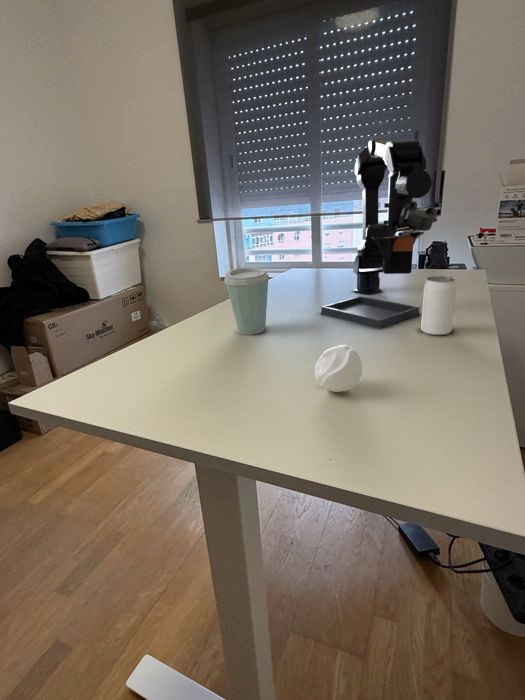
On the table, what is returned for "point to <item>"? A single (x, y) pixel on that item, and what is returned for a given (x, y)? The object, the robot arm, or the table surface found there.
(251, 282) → the disposable coffee cup
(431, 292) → the can
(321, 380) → the white ball
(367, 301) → the tray
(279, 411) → the table surface
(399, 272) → the battery
